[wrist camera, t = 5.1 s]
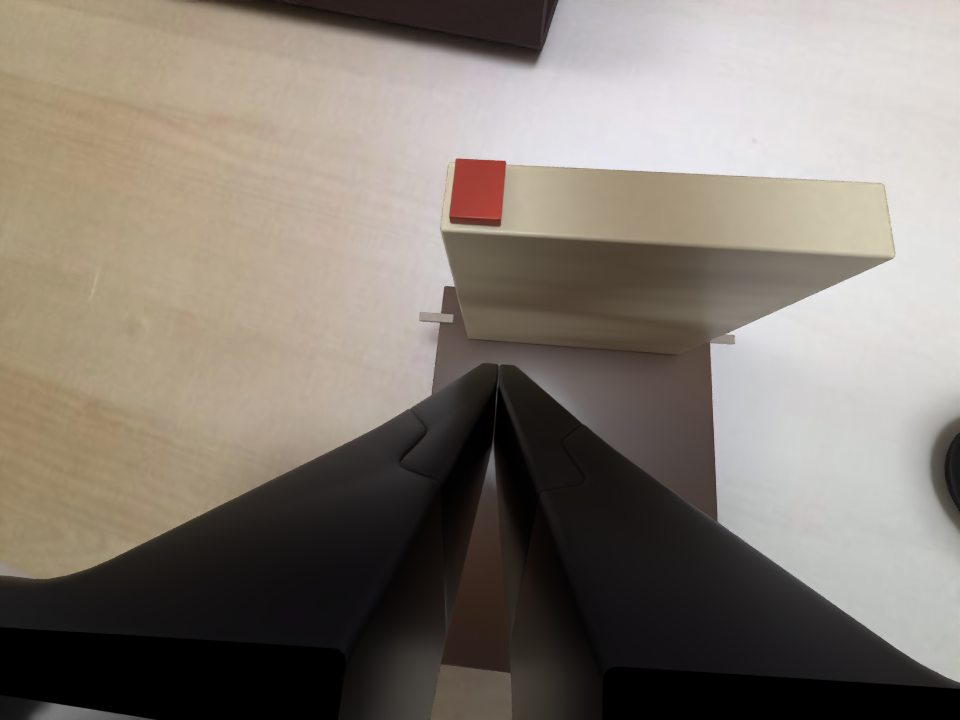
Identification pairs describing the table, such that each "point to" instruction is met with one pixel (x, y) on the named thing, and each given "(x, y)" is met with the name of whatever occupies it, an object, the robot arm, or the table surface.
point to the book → (457, 16)
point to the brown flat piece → (603, 409)
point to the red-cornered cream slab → (646, 251)
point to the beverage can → (953, 470)
